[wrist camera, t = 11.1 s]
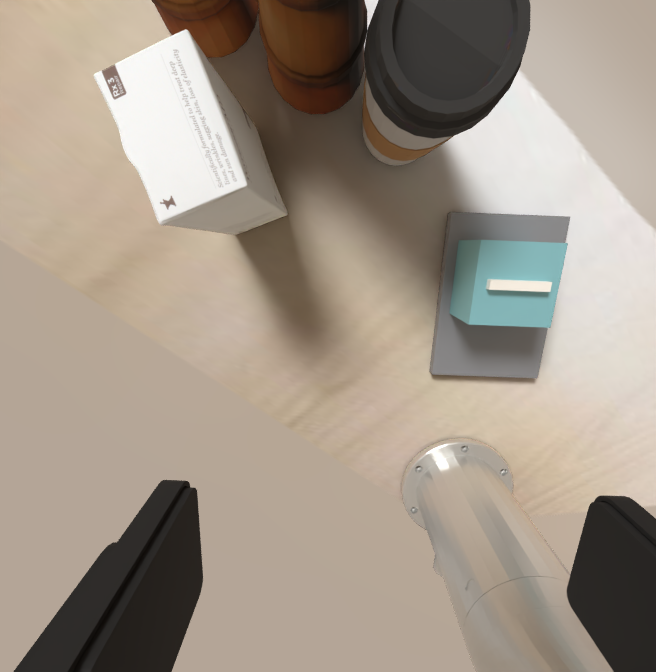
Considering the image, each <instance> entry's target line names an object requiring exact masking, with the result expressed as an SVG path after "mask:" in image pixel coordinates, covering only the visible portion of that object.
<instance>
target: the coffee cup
mask: <svg viewBox="0 0 656 672" xmlns="http://www.w3.org/2000/svg"><path fill="white" fill-rule="evenodd" d="M529 31H530V2H529V0H379V1H378V4H377V6H376V9H375V11H374V14H373V17H372V19H371V22H370V25H369V27H368V30H367V37H366V44H365V51H364V58H365V70H366V74H365V82H364V93H363V109H362V118H363V122H362V130H363V138H364V141H365V144H366V146H367V148H368V149H369V151H370V152H371V154H372V155H373V156H374V157H375V158H377V159H378V160H379V161H381V162H383V163H385V164H388V165H394V166H399V165H406V164H408V163H410V162H413V161H415V160H416V159H418V158H420V157H422V156H424V155H426V154H427V153H429V152H430V151H432V150H434V149H435V148H437V147H438V146H440V145H442V144H443V143H445V142H446V141H448V140H449V139H450V138H451V137H453V136H454V135H457V134H459V133H461V132H463V131H466V130H468V129H470V128H472V127H473V126H475V125H476V124H477V123H478V122H480V121H481V120H482V119H483V118H485V117H486V116H487V115H488V114H489V113H490V112H491V110H492V109H493V108H494V107H495V106H496V104H497V103H498V102H499V101H500V99H501V98H502V97H503V96H504V94H505V93H506V92H507V91H508V89H509V88H510V86H511V84H512V82H513V80H514V78H515V76H516V74H517V72H518V70H519V68H520V65H521V61H522V57H523V54H524V52H525V48H526V44H527V39H528V35H529Z"/></svg>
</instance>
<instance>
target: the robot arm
mask: <svg viewBox="0 0 656 672" xmlns="http://www.w3.org/2000/svg"><path fill="white" fill-rule="evenodd" d="M512 493H513V477H512V473H511V471H510V468H509V466H508V465H507V463H506V462H505V460H504V459H503V458H502V457H501V455H500V454H499V453H498V452H497V451H496V450H494V449H493V448H492V447H490V446H489V445H487V444H485V443H482V442H480V441H476V440H473V439H464V438H456V439H448V440H444V441H440V442H437V443H435V444H433V445H431V446H428V447H427V448H425V449H424V450H422V451H421V452H420V453H419V454H418V455H417V456H416V457H414V458H413V459H412V461H411V462H410V464H409V465H408V466H407V468H406V471H405V473H404V475H403V479H402V483H401V494H402V498H403V502H404V505H405V508H406V511H407V512H408V514H409V515H410V517H411V518H412V519H413V520H414V521H415V522H416V523H417V524H418V525H419V526H421V527H422V528H424V529H425V530H427V532H428V534H429V537H430V540H431V543H432V546H433V549H434V552H435V559H434V567H433V568H434V570H435V572H436V573H437V574H438V575H440V576H443V579H444V582H445V584H446V588H447V591H448V593H449V596H450V599H451V602H452V605H453V608H454V611H455V614H456V617H457V620H458V623H459V626H460V629H461V631H462V634H463V637H464V640H465V643H466V647H467V649H468V652H469V655H470V658H471V661H472V663H473V666H474V668H475V670H476V672H656V519H655V518H654V517H653V516H652V515H650V513H648V512H647V511H646V510H645V509H644V508H642V507H641V506H640V505H639V504H638V503H636V502H635V501H634V500H632V499H631V498H629V497H625V496H598V497H597V498H596V499H595V501H594V502H592V503H591V504H590V506H589V509H588V512H587V516H586V520H585V523H584V527H583V531H582V535H581V538H580V542H579V545H578V549H577V553H576V556H575V560H574V564H573V567H572V571H571V575H570V573H569V572H568V570H567V569H566V568H565V566H564V565H563V564H562V562H561V561H560V560H559V558H558V557H557V555H556V554H555V553H554V551H553V550H552V549H551V547H550V546H549V545H548V543H547V542H546V540H545V539H544V537H543V536H542V535H541V534H540V532H539V531H538V529H537V528H536V526H535V525H534V524H533V522H532V521H531V520H530V518H529V517H528V515H527V514H526V513H525V511H524V510H523V509H522V507H521V506H520V504H519V503H518V502H517V500H516V499H515V498H514V496H513V495H512ZM202 582H203V571H202V556H201V543H200V528H199V513H198V498H197V490H196V488H190V484H189V482H188V481H177V480H163V481H161V482H160V483H159V484H158V486H157V487H156V489H155V490H154V491H153V493H152V494H151V496H150V497H149V498H148V500H147V502H146V503H145V504H144V506H143V507H142V508H141V510H140V511H139V513H138V514H137V515H136V517H135V518H134V520H133V521H132V522H131V524H130V525H129V527H128V528H127V529H126V531H125V532H124V534H123V535H122V536H121V538H120V539H119V541H118V542H117V543H112V544H110V545H108V546H107V547H106V548H105V549H104V551H103V552H102V553H101V554H100V556H99V557H98V558H97V560H96V561H95V562H94V564H93V565H92V566H91V568H90V569H89V570H88V572H87V573H86V574H85V576H84V577H83V578H82V580H81V581H80V583H79V584H78V585H77V587H76V588H75V589H74V591H73V592H72V593H71V595H70V596H69V598H68V599H67V600H66V601H65V603H64V604H63V606H62V607H61V608H60V610H59V611H58V612H57V614H56V615H55V616H54V618H53V619H52V620H51V622H50V623H49V625H48V626H47V627H46V628H45V630H44V632H43V633H42V634H41V635H40V637H39V638H38V639H37V641H36V642H35V644H34V645H33V646H32V647H31V649H30V650H29V652H28V653H27V654H26V656H25V657H24V658H23V660H22V661H21V662H20V664H19V665H18V666H17V668H16V669H15V670H14V672H171V671H172V669H173V666H174V663H175V661H176V658H177V655H178V652H179V650H180V647H181V644H182V642H183V639H184V636H185V634H186V631H187V628H188V625H189V623H190V620H191V617H192V615H193V612H194V609H195V607H196V604H197V601H198V599H199V595H200V592H201V588H202Z"/></svg>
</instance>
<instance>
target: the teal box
mask: <svg viewBox="0 0 656 672" xmlns="http://www.w3.org/2000/svg"><path fill="white" fill-rule="evenodd" d="M567 245H568V243H550V242H525V241H501V240H459V243H458V250H457V258H456V266H455V273H454V281H453V289H452V297H451V304H450V312H449V313H450V314H451V315H453V316H455V317H457V318H458V319H460V320H462V321H463V322H465V323H467V324H469V325H493V326H519V327H545V328H550V326H551V322H552V317H553V312H554V307H555V302H556V298H557V293H558V288H559V283H560V278H561V273H562V269H563V264H564V259H565V254H566V249H567Z"/></svg>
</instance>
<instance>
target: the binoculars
mask: <svg viewBox="0 0 656 672" xmlns="http://www.w3.org/2000/svg"><path fill="white" fill-rule="evenodd" d="M152 2H153V3H154V4H155V6H156V8H157V10H158V12H159V13H160V15H161V17H162V19H163V21H164V23H165V25H166V27H167V28H168V30H169V31H170V32H171V34H172V35H174V34H176V33H179V32H181V31H183V30H185V29H186V30H188V31H189V32H190V34H191V35H192V37H193V38H194V40H195V41H196V43H197V44H198V46H199V47H200V49H201V50H202V51H203V53H204V54H205V56H206V57H223V56H225V55H228V54H230V53H233V52H235V51H236V50H238V49H239V48H240V47H241V46H242V45H243V44H244V43H245V42H246V41H247V40H248V38H249V36H250V34H251V32H252V31H253V29H254V27H255V23H256V18H257V13H259V29H260V35H261V38H262V41H263V44H264V47H265V49H266V52H267V59H268V69H269V72H270V75H271V78H272V81H273V84H274V87H275V88H276V89H277V91H278V92H279V94H280V95H281V96H282V98H283V99H284V100H285V101H286V102H287V103H289V104H290V105H291V106H293V107H294V108H295V109H297V110H300V111H303V112H306V113H309V114H326V113H329V112H331V111H334V110H337V109H339V108H340V107H341V106H343V105H344V104H345V103H346V102H347V101H349V100H350V99H351V98H352V96H353V94H354V93H355V91H356V90H357V88H358V86H359V85H360V81H361V78H362V74H363V70H364V43H365V39H366V34H367V9H366V5H365V1H364V0H152ZM258 3H259V8H258ZM258 9H259V12H258Z"/></svg>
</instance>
